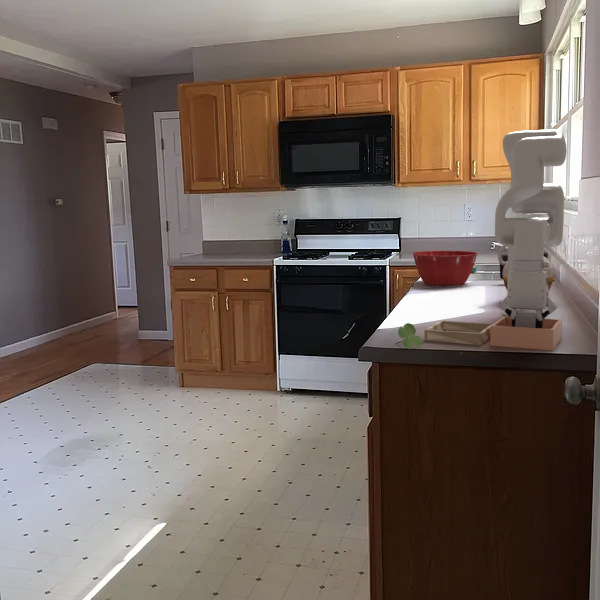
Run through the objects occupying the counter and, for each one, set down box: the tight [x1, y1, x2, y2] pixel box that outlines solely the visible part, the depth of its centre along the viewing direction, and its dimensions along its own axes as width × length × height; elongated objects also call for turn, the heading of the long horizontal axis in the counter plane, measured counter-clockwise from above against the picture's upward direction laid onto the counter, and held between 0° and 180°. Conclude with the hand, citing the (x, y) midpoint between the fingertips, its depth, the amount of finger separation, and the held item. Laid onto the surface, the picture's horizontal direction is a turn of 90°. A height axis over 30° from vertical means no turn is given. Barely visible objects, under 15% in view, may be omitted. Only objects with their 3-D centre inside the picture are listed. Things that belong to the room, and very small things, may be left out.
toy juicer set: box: [470, 262, 481, 276], centre depth 338 cm, size 29×18×8 cm, turn 171°
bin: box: [489, 315, 563, 351], centre depth 175 cm, size 16×16×5 cm
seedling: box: [395, 323, 424, 350], centre depth 175 cm, size 7×8×6 cm
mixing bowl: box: [411, 250, 478, 287], centre depth 291 cm, size 28×28×15 cm
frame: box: [424, 320, 494, 346], centre depth 184 cm, size 16×16×3 cm
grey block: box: [515, 312, 537, 328], centre depth 175 cm, size 5×5×6 cm
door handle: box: [499, 251, 549, 280], centre depth 284 cm, size 3×20×16 cm, turn 76°
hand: (526, 333), depth 175 cm, fingers closed on grey block, 5 cm apart
